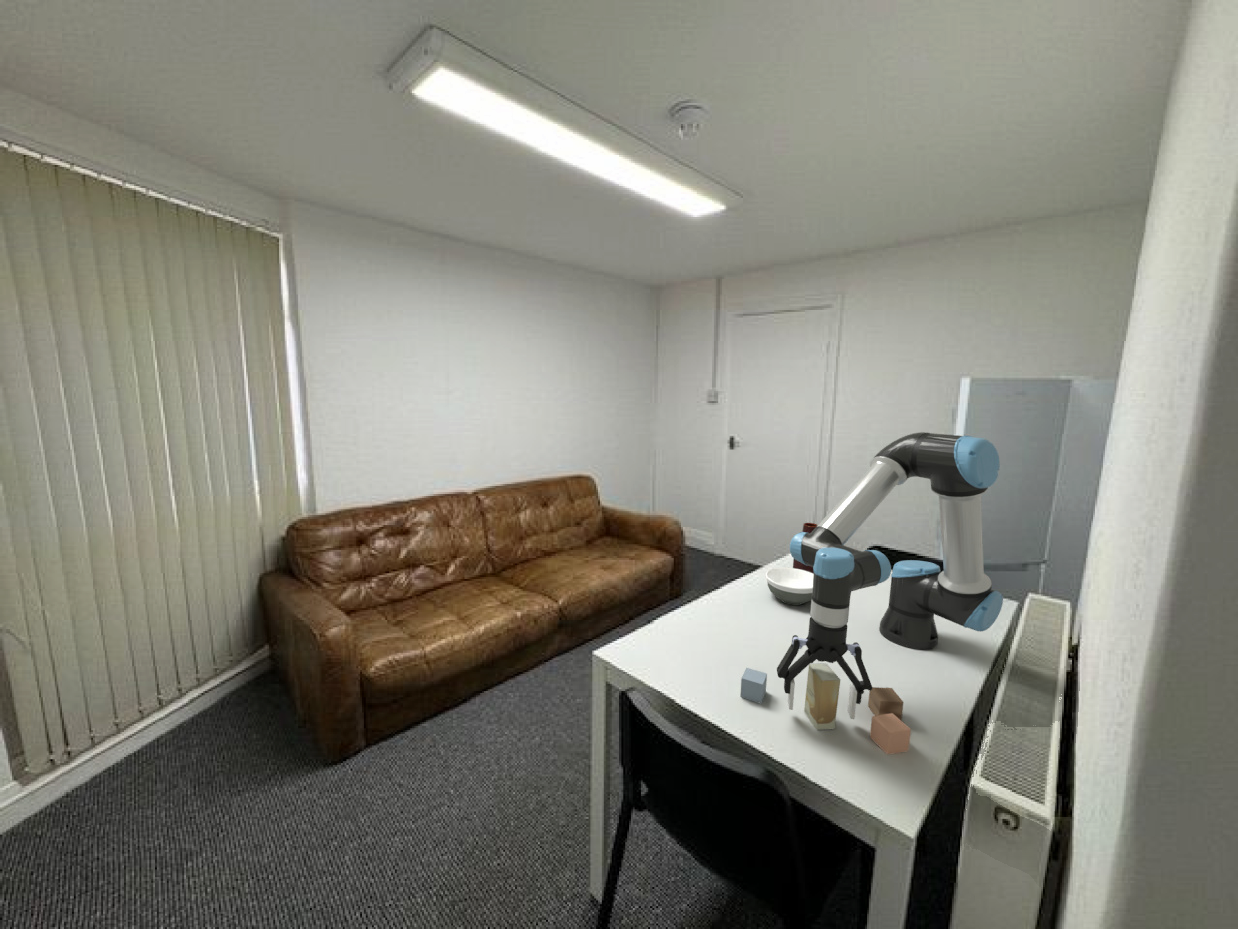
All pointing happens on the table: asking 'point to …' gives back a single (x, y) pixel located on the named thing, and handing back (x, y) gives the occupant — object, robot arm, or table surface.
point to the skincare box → (822, 696)
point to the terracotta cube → (890, 733)
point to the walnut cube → (885, 702)
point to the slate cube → (753, 685)
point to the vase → (796, 564)
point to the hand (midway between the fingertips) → (820, 710)
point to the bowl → (791, 585)
